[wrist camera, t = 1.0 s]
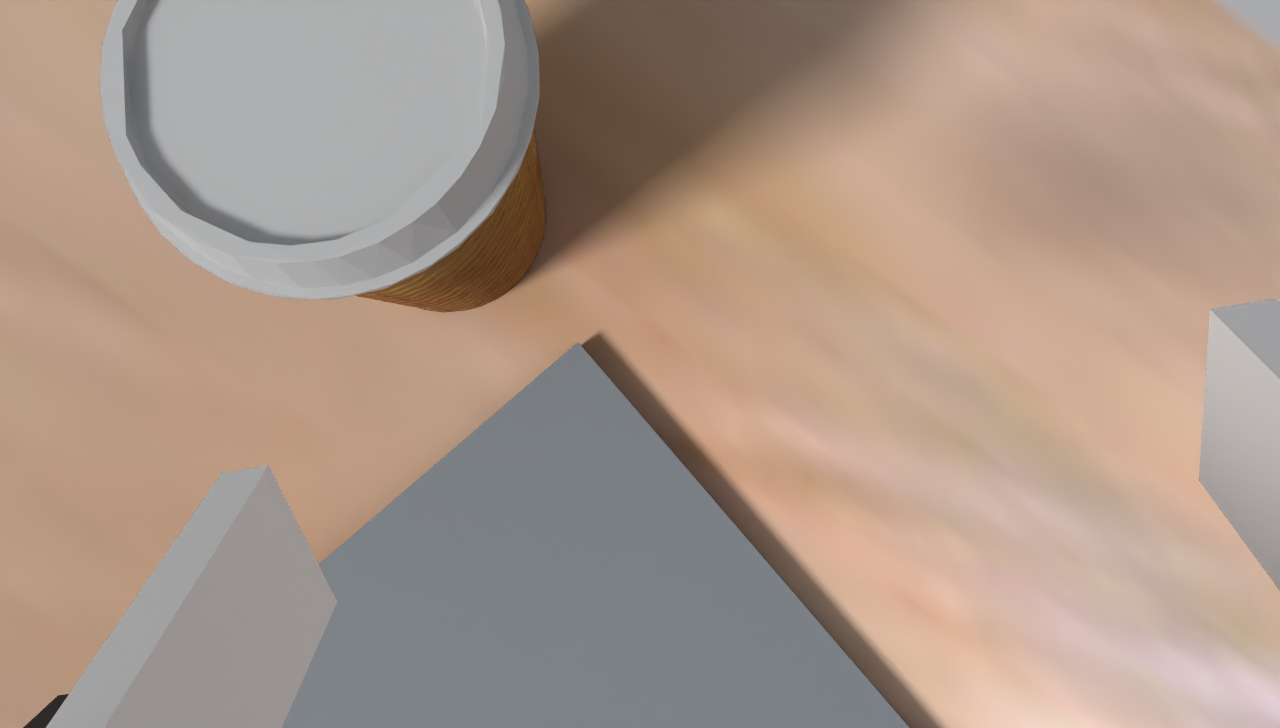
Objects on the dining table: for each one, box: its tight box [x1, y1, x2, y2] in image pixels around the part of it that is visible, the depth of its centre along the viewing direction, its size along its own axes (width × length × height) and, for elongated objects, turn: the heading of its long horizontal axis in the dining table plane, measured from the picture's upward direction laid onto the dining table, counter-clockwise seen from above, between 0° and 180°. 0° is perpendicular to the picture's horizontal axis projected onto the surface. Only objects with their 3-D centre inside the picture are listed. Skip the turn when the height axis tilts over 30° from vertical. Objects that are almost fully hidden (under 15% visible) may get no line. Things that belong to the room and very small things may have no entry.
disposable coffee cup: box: [99, 0, 546, 312], centre depth 26 cm, size 10×10×12 cm
